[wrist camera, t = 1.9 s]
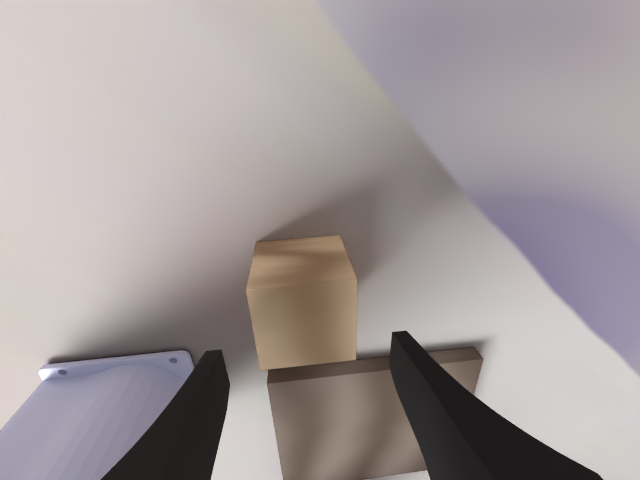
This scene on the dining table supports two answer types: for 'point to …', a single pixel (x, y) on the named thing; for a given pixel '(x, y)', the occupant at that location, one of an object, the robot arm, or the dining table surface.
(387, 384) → the serving board
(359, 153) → the dining table surface
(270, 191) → the dining table surface
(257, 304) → the oak block
